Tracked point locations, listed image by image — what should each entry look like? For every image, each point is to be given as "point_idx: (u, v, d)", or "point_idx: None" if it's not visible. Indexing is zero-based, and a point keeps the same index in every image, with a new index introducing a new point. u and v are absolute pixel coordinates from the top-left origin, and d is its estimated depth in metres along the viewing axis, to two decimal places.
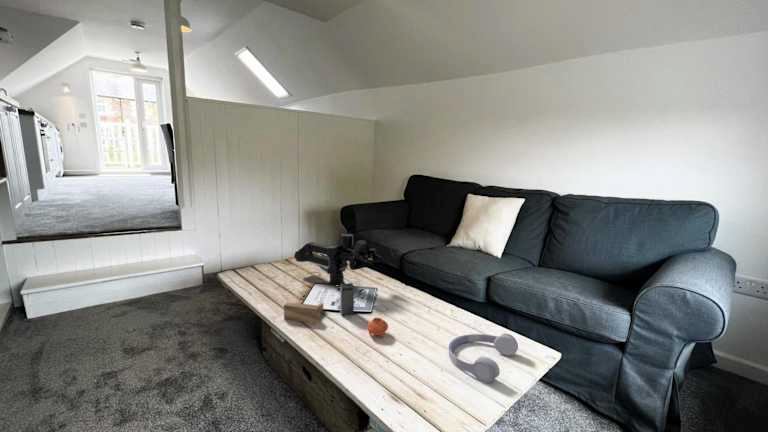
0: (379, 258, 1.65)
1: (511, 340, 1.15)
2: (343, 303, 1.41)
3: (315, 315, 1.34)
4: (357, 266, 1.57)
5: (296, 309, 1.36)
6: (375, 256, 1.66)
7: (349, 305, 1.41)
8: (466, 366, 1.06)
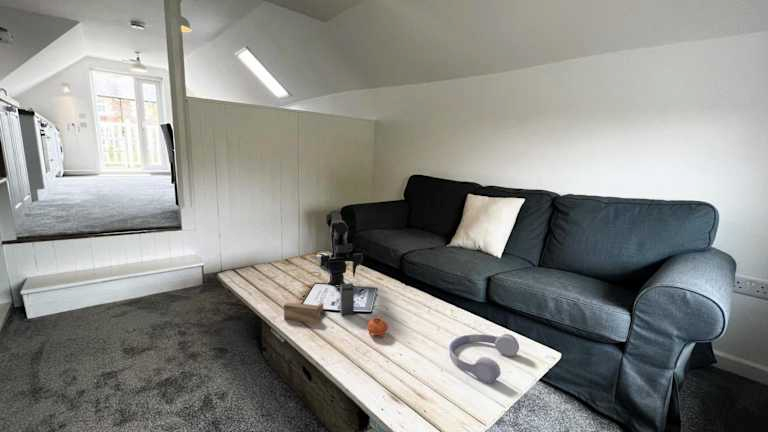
0: (353, 271, 1.50)
1: (512, 340, 1.15)
2: (343, 303, 1.41)
3: (315, 315, 1.34)
4: (325, 266, 1.51)
5: (296, 309, 1.36)
6: (353, 265, 1.52)
7: (349, 304, 1.41)
8: (467, 366, 1.05)
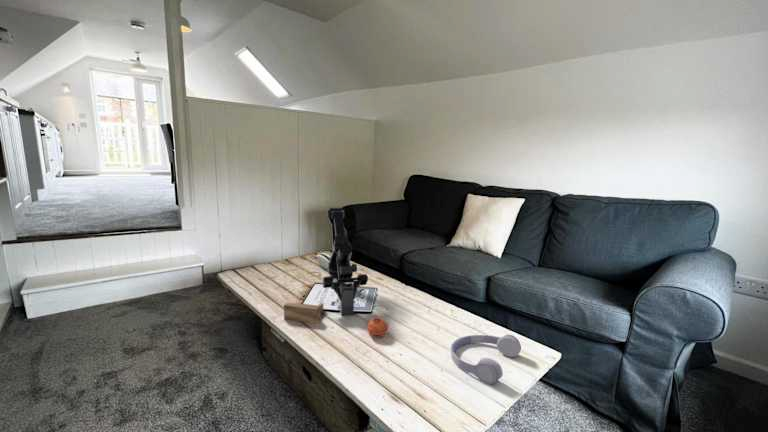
0: None
1: (514, 341, 1.14)
2: (343, 303, 1.41)
3: (315, 315, 1.34)
4: (332, 287, 1.45)
5: (296, 309, 1.36)
6: None
7: (349, 304, 1.41)
8: (469, 367, 1.05)
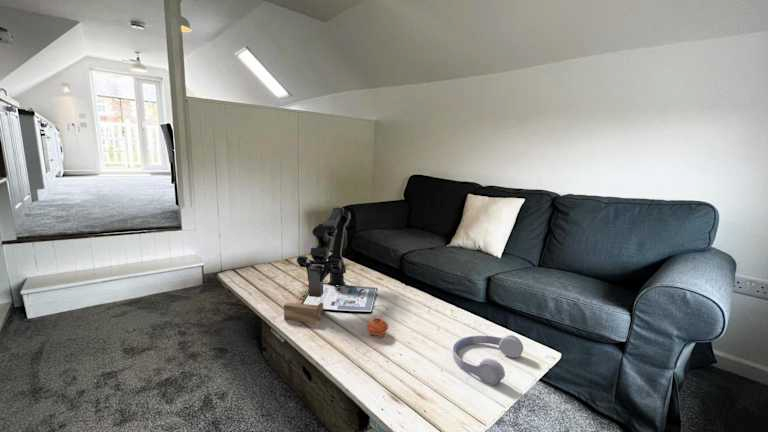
0: None
1: (516, 342, 1.14)
2: (310, 284, 1.43)
3: (315, 315, 1.34)
4: (307, 267, 1.48)
5: (296, 309, 1.36)
6: None
7: (315, 286, 1.42)
8: (471, 368, 1.05)
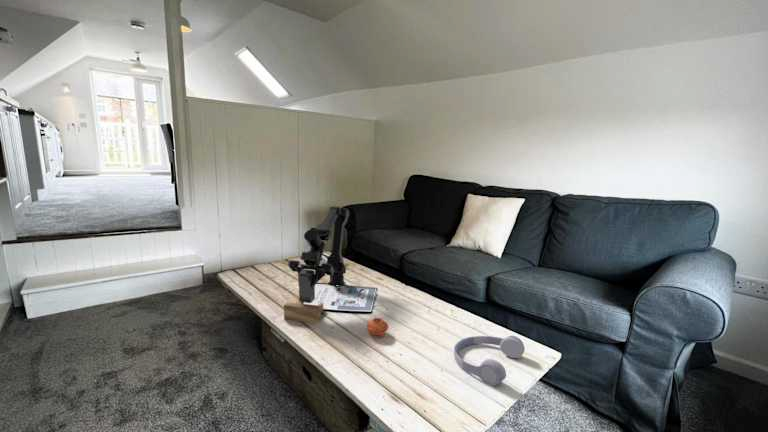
0: None
1: (517, 342, 1.13)
2: (300, 289, 1.39)
3: (315, 315, 1.34)
4: None
5: (296, 309, 1.36)
6: None
7: (306, 291, 1.39)
8: (472, 369, 1.04)
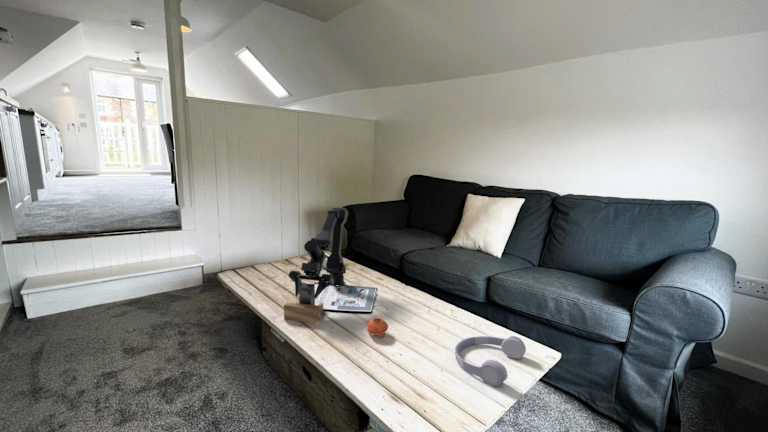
0: None
1: (519, 342, 1.13)
2: (301, 303, 1.40)
3: (315, 315, 1.34)
4: None
5: (296, 309, 1.36)
6: None
7: None
8: (473, 369, 1.04)
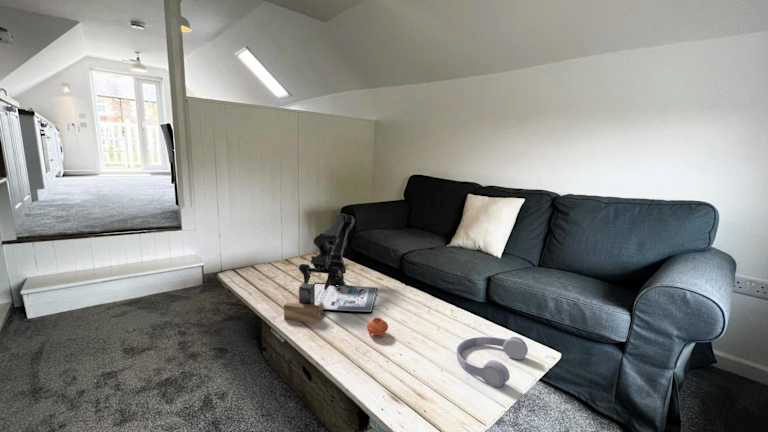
0: None
1: (521, 343, 1.13)
2: (301, 303, 1.40)
3: (315, 315, 1.34)
4: None
5: (296, 309, 1.36)
6: None
7: None
8: (475, 370, 1.04)
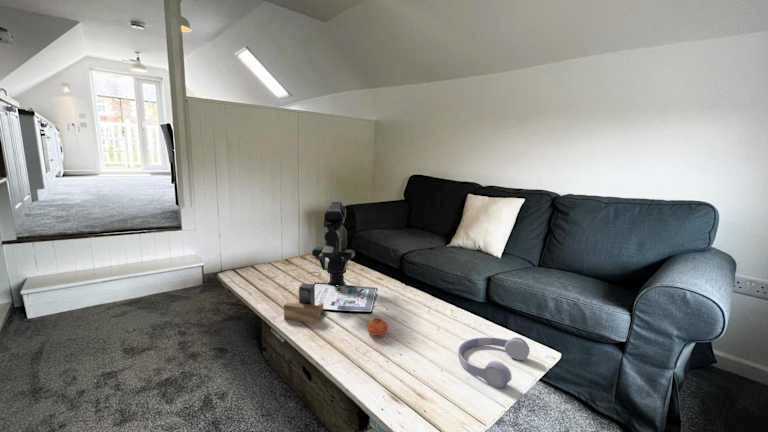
0: None
1: (522, 344, 1.12)
2: (301, 303, 1.40)
3: (315, 315, 1.34)
4: None
5: (296, 309, 1.36)
6: None
7: None
8: (477, 371, 1.03)
